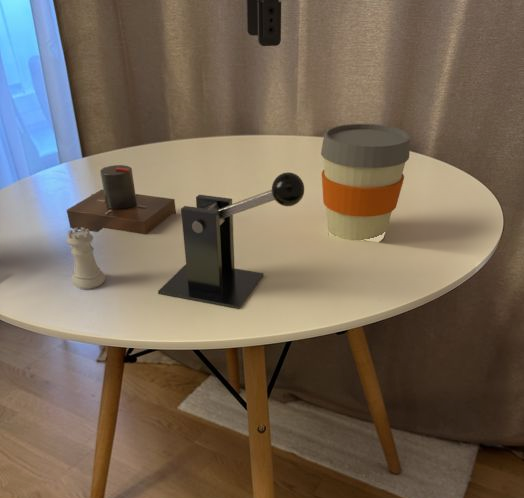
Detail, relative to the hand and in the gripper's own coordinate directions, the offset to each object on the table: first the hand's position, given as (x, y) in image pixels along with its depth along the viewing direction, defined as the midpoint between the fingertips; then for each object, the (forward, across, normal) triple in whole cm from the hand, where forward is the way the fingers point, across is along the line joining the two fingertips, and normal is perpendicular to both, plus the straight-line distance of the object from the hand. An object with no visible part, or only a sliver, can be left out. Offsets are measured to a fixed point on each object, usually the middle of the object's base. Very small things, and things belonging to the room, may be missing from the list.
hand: (262, 39), depth 58 cm
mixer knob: (+25, -22, -20) cm, 39 cm away
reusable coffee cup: (+28, -12, +16) cm, 35 cm away
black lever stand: (+28, +3, -7) cm, 29 cm away
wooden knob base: (+28, -22, -20) cm, 41 cm away
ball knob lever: (+17, +6, -2) cm, 18 cm away
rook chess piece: (+28, 0, -23) cm, 37 cm away
